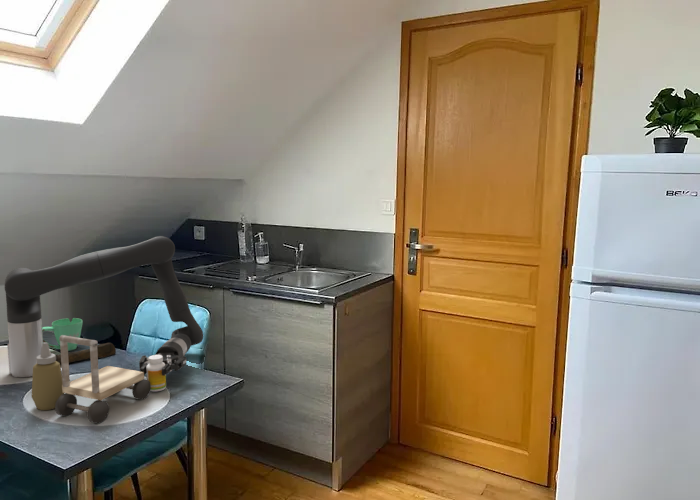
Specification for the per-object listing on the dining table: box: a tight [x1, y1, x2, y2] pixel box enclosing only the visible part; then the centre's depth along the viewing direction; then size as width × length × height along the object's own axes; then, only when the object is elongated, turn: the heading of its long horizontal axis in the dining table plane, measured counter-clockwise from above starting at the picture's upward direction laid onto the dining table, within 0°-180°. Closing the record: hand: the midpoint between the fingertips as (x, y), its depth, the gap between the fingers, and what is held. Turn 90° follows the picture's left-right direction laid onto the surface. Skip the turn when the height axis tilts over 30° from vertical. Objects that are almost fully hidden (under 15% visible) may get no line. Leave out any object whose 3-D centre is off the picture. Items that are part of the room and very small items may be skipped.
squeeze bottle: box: [31, 341, 65, 411], centre depth 152 cm, size 8×8×18 cm
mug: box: [42, 317, 83, 352], centre depth 199 cm, size 15×10×10 cm
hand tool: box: [55, 342, 117, 366], centre depth 190 cm, size 19×4×5 cm, turn 129°
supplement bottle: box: [145, 354, 167, 392], centre depth 165 cm, size 5×5×10 cm
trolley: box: [54, 335, 151, 424], centre depth 153 cm, size 13×22×22 cm, turn 159°
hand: (153, 372), depth 162 cm, fingers closed on supplement bottle, 5 cm apart
